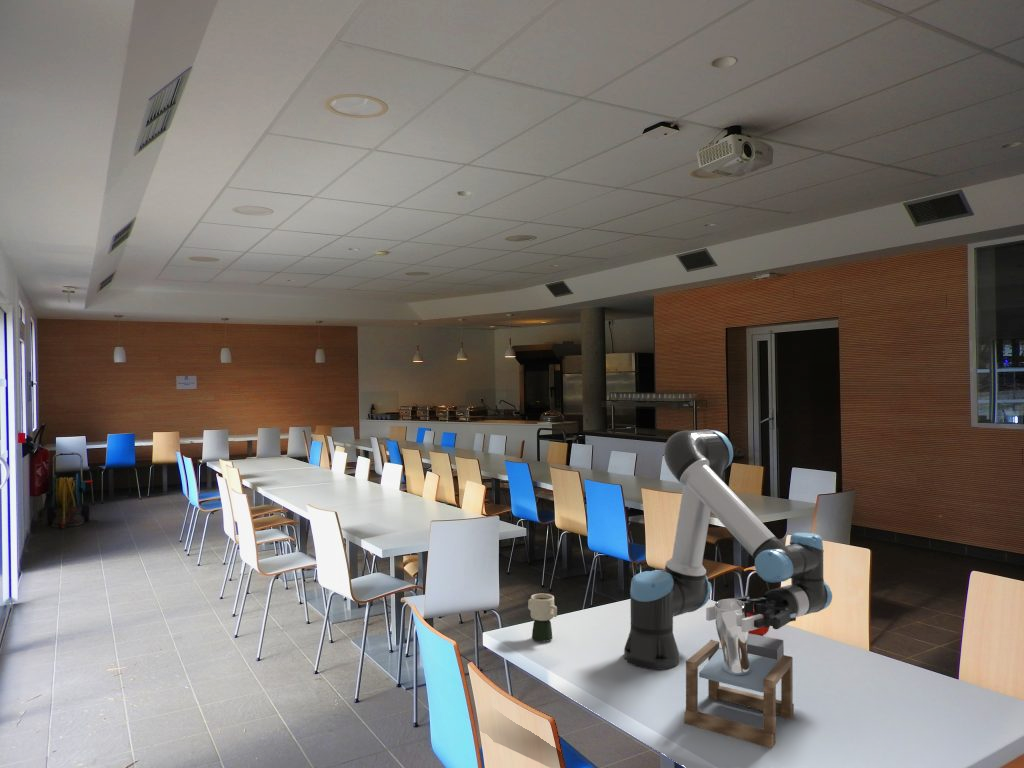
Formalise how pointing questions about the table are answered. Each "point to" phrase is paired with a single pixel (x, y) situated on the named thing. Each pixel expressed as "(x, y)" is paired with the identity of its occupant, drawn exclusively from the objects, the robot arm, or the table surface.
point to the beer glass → (732, 635)
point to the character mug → (542, 615)
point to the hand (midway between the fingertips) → (724, 620)
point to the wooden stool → (741, 699)
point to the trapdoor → (761, 660)
